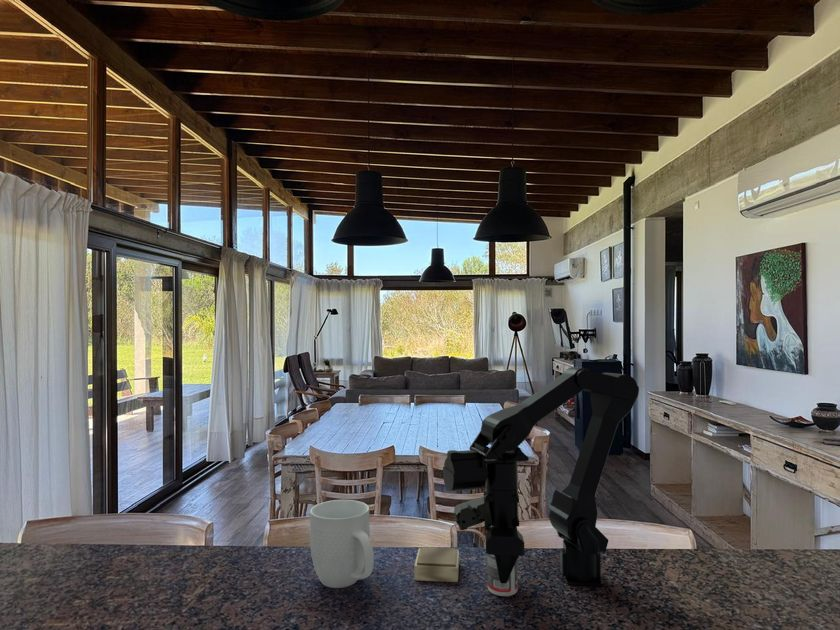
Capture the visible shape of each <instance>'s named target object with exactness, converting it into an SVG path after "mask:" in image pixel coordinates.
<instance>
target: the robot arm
mask: <svg viewBox="0 0 840 630" xmlns="http://www.w3.org/2000/svg"><path fill="white" fill-rule="evenodd" d="M582 391H585V392H589V393H590V404H591V405H590V406H591V410H592V411H591V412H592V413H591V414H592V415H591V417H590V421H589V423H588V427H587V430H586V433H585V435H584V437H583V438H584V439H583V441H582V445H581V448H580V451H579V453H578V457H577V460H576V463H575V466H574V469H573V472H572V475H571V478H570V481H569V483H568V485H567V486H566V487H565V488H564V489H563V490H562V491H561V490H559V489H557V488H556V489H555V490H554V492H553V494H552V500H551V503H550V505H549V506H548V507H547V510H548V511H549V515H548V520H549V521H550V524H551V526H552V528H553V529H554V530H556V533H557V536H558V538H560V539H562V548H560V549H559V561H560V562H559V563H560V564H559V565H560V567H559V568H560V572H561V575H562V577H564V579H565V582H566V584H567V585H572V586H573V585H576V586H592V587H593V586H595V587H596V586H597V587H598V586H599V587H603V586H604V585H605V583H604V581H603V579H602V575H601V573H602V570H601V569H602V568H601V567H602V560H601V554H602V553H603V552H606V551H607V547H608V545H609V539H608V538H607V537H606V536H605V535H604V534H603V532H601V531H600V529H598V528H597V520H598V506H597V499H596V494H597V490H598V488H599V485H600V481H601V478H602V475H603V472H604V468H605V466H606V463H607V460H608V456H609V453H610V450H611V447H612V443H613V441H614V438H615V434H616V431H617V429H618V426H619V423H620V422H621V421H622V420H623V419H624V418H625V417H626V416H627V415H628V414H629V413H630V412H631V411H632V409H633V407H634V405H635V403H636V401H637V399H638V396H639V393H640V387H639V385H638V384H637V381H636V380H635V379H634V377H633V376H631V375H630V374H629V375H628V374H623V373H614V372H602V373H601V372H597V371H593V370H589V369H587V368H585V367H575V366H573V367H570V366H569V367H568V368H567V369H566V370H565V371H564V372H563V373H562V374H561V375H559V376H558V377H556V378H555V379H553V380H551V381H550V382H549V383H547V384H546V385H545V386H543V387H541V388H540V389H538V390H537V391H536V392H534V393H533V394H532V395H530V396H528V397H527V398H526V399H524V400H523V401H521V402H520V403H518V404H516V405H512V406H509V407H506V408H502V409H500V410H497V411H496V412H494V413H490V414H488V415H487V416H486V417H485V418H484V419H483V420H482V421H481V428H480V431H479V433H478V434H476V435H477V436H476V437H475V439H474V440H473V441H472V443H471V445H470V446H469V447H468V448H469V449H468V450H454V449H450V450H448V451H447V454H446V455H447V456H446V458H445V460H444V464H443V466H442V476H443V477H442V479H443V483H444V487H445V490H446V491H448V492H459V491H460V492H461V491H470V490H473V491H474V490H480V489H482V487H484V486H485V489H483V496H480V497H478V498H474V499H470V500H467V501H464V502H462V503H459V504H457V505H455V506H454V508H453V514H454V517H455V520H456V524H457V525H458V529H459V531H466V530H467V529H468V528H470V527H474V526H476V525H480V524H482V523H484V530H485V531H486V533H485V537H484V538H485V545H484V546H485V554H486V555H487V554H489V555H494V556H495V560H496V564H497V569H498V574H499V579H500V583H507V581H508V579H509V577H510V574H511V572H512V570H513V567H514V565H515V563H516V561H517V562H518V559H519V557H522V556H525V541H524V536H523V534H522V533H521V532H520V531H519V530H518V527H520V518H519V503H520V495H519V490H518V489H519V487H518V484H519V479H518V477H519V475H518V462H529V460H530V457H529V456H528V455H527V454H525V453H524V452H523V451H522V449H521V448H520V446H521V444H522V443H523V442H524V441H525V440H527V438H528V437H529V436H530V434H531V432H532V431H533V428H534V427H536V424H538V423H539V422H540V421H542V420H543V419H545V418H546V417H547V416H549V415H550V414H551V413H553V412H554V411H556V410H557V409H558V408H560V407H561V406H563V405H565V404H566V403H568V401H570V400H571V399H572V398H573V399H574V397H575V396H577V395H578V394H580V393H581V392H582ZM488 445H489V446H490V447H489V446H488Z"/></svg>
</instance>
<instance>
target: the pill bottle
mask: <svg viewBox="0 0 840 630" xmlns="http://www.w3.org/2000/svg"><path fill="white" fill-rule="evenodd" d="M486 571H487V573H486V574H487V575H486V577H487V580H486V581H487V589H488V591H489V593H491V594H493V595H495V596H499V597H511V596H513V595H515V594H516V593H517V592H518V590H519V588H518V587H519V586H518V585H519V584H518V583H519V581H518V578H519V577H518V576H519V575H518V560H517V561H516V563H515V565H514V567H513V570H512V572H511V574H510V577H509V579H508V581H507V583H500V579H499V574H498V569H497V564H496V560H495V556H494V555H489V554H487V553H486Z"/></svg>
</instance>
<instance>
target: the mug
mask: <svg viewBox="0 0 840 630" xmlns="http://www.w3.org/2000/svg"><path fill="white" fill-rule="evenodd" d="M370 523H371V522H370V506H369V505H368V504H366V503H365V502H363V501H358V500H356V499H355V500H354V499H333V500H328V501H327V500H326V501H323V502H321V503H320V502H319V503H317V504H315V505H314V506H312V507H311V508H310V511H309V545H310V546H309V547H310V553H311V561H312V564H313V568H314V572H315V574H316V576H317V577H318V580H319V581H320V583H321V584H322V585H324V586H325V587H327V588H330V589H331V588H332V589H342V588H348V587H350V586H352V585H354V584H355V583H357V582H358V580H364V579H367V578H368V577H369V576H371V574H372V572H373V570H374V563H375V557H374V556H375V555H374V548H373V544H372V541H371V540H370V536H371V535H370V533H371V531H370V528H371V527H370V525H371V524H370Z"/></svg>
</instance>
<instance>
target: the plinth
mask: <svg viewBox="0 0 840 630" xmlns="http://www.w3.org/2000/svg"><path fill="white" fill-rule="evenodd" d="M459 550H460V549H457V548H455V547H453V548H452V547H451V548H450V547H449V548H448V547H427V546H421V547H419V548H418V550H417V554H416V558H415V562H414V568H413V569H414V571H413V573H414V577H413V578H414V581H421V582H423V581H426V582H445V583H446V582H447V583H449V582H450V583H458V582H459V568H460V567H459V566H460V551H459Z"/></svg>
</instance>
